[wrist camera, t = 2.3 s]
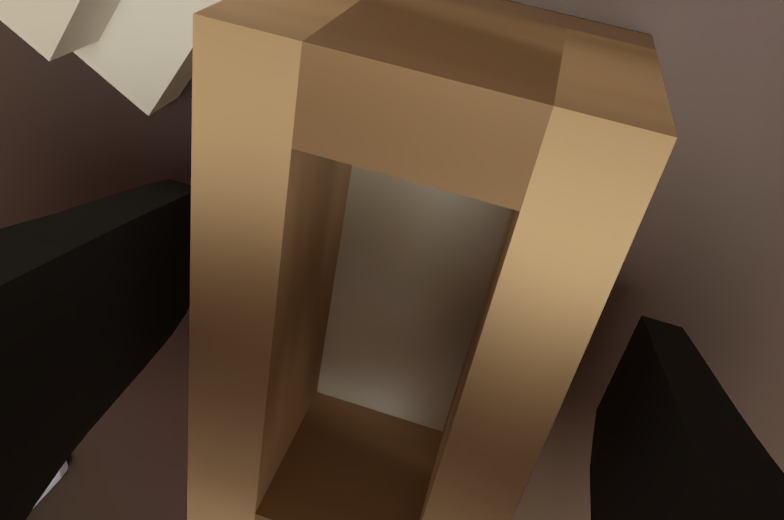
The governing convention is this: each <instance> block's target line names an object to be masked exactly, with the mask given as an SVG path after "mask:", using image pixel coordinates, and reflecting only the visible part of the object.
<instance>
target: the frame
mask: <svg viewBox="0 0 784 520" xmlns="http://www.w3.org/2000/svg"><path fill="white" fill-rule="evenodd" d="M676 140H677V134H676V130H675V126H674V122H673V118H672V114H671V110H670V106H669V102H668V97H667V93H666V89H665V85H664V81H663V77H662V73H661V69H660V65H659V61H658V57H657V53H656V49H655V45H654V41H653V37H652V35H649V34H644V33H640V32H636V31H632V30H628V29H624V28H619V27H615V26H611V25H607V24H603V23H599V22H594V21H590V20H586V19H582V18H578V17H574V16H569V15H565V14H561V13H557V12H553V11H549V10H545V9H540V8H536V7H532V6H528V5H524V4H520V3H515V2H511V1H507V0H222V1H220V2H217V3H215V4H213V5H211V6H209V7H206V8H204V9H202V10H200V11H197V12H195V13H193V58H192V143H191V229H190V314H189V400H188V485H187V520H512V518H513V515H514V513H515V511H516V508H517V506H518V504H519V502H520V499H521V497H522V495H523V492H524V490H525V488H526V485H527V483H528V481H529V478H530V476H531V474H532V472H533V469H534V467H535V465H536V462H537V460H538V458H539V455H540V453H541V451H542V449H543V446H544V444H545V442H546V439H547V437H548V435H549V432H550V430H551V428H552V426H553V423H554V421H555V419H556V416H557V414H558V412H559V409H560V407H561V405H562V402H563V400H564V398H565V396H566V393H567V391H568V389H569V386H570V384H571V382H572V379H573V377H574V375H575V373H576V370H577V368H578V366H579V363H580V361H581V359H582V356H583V354H584V352H585V349H586V347H587V345H588V343H589V340H590V338H591V336H592V333H593V331H594V329H595V326H596V324H597V322H598V320H599V317H600V315H601V313H602V310H603V308H604V306H605V303H606V301H607V299H608V296H609V294H610V292H611V290H612V287H613V285H614V283H615V280H616V278H617V276H618V273H619V271H620V269H621V267H622V264H623V262H624V260H625V257H626V255H627V253H628V250H629V248H630V246H631V244H632V241H633V239H634V237H635V234H636V232H637V230H638V227H639V225H640V223H641V220H642V218H643V216H644V214H645V211H646V209H647V207H648V204H649V202H650V200H651V197H652V195H653V193H654V191H655V188H656V186H657V184H658V181H659V179H660V177H661V174H662V172H663V170H664V167H665V165H666V163H667V161H668V158H669V156H670V154H671V151H672V149H673V147H674V144H675V142H676Z"/></svg>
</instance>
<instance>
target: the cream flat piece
mask: <svg viewBox="0 0 784 520" xmlns="http://www.w3.org/2000/svg"><path fill="white" fill-rule="evenodd" d="M220 1H222V0H0V20H1V21H2V22H3V23H4V24H6V25H7V26H8V27H9V28H10V29H11V30H13V31H14V32H15V33H16V34H17V35H19V36H20V37H21V38H22V39H23V40H24V41H26V42H27V43H28V44H29V45H30V46H32V47H33V48H34V49H35V50H36V51H38V52H39V53H40V54H41V55H42V56H43V57H45V58H46V59H47V60H48V61H52V60H54V59H56V58H59V57H61V56H64V55H66V54H68V53H71V52H74V53H75V54H76V55H77V56H78V57H80V58H81V59H82V60H83V61H84V62H85V63H87V64H88V65H89V66H90V67H91V68H93V69H94V70H95V71H96V72H97V73H98V74H100V75H101V76H102V77H103V78H104V79H105V80H107V81H108V82H109V83H110V84H111V85H112V86H114V87H115V88H116V89H117V90H118V91H120V92H121V93H122V94H123V95H124V96H125V97H127V98H128V99H129V100H130V101H131V102H132V103H134V104H135V105H136V106H137V107H138V108H139V109H141V110H142V111H143V112H144V113H145V114H147V115H148V116H149V115H151V114H153V113H154V112H156V111H157V110H159V109H161V108H162V107H164V106H165V105H167V104H168V103H170V102H172V101H173V100H175V99H176V98H178V97H179V96H180V94H181V93H182V91H183V90H184V88H185V87H186V85H187V84H188V82H189V81H190V79H191V78H192V58H193V13H195V12H197V11H200V10H202V9H204V8H206V7H209V6H211V5H213V4H215V3H217V2H220Z"/></svg>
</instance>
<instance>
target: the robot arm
mask: <svg viewBox="0 0 784 520" xmlns="http://www.w3.org/2000/svg"><path fill="white" fill-rule="evenodd" d="M190 229H191V185H187V184H184V183H180V182H177V181H174V180H170V179H168V180H163V181H159V182H155V183H151V184H147V185H144V186H140V187H137V188H134V189H131V190H127V191H124V192H121V193H118V194H115V195H112V196H109V197H106V198H102V199H99V200H96V201H93V202H90V203H87V204H84V205H81V206H77V207H74V208H71V209H68V210H65V211H62V212H59V213H55V214H52V215H49V216H45V217H42V218H38V219H35V220H31V221H27V222H24V223H20V224H17V225H13V226H10V227H6V228H2V229H0V520H26V518H27V517H28V515H29V514H30V512H31V511H32V509H33V508H34V507H35V506H36V505H37V504H38V503H39V502H40V501H41V499H42V498H43V497H44V496H45V495H46V494H47V493H48V492H49V491H50V490H51V489H52V488H53V486H54V485H55V484H56V483H57V482H58V481H59V480H60V479H61V478H62V476H63V475H64V474H65V473H66V472H67V469H68V464H67V461H66V460H67V459H68V457H69V456H70V454H71V453H72V452H73V451H74V449H75V448H76V447H77V445H78V444H79V443H80V442H81V440H82V439H83V438H84V437H85V435H86V434H87V433H88V432H89V430H90V429H91V428H92V427H93V426H94V425H95V424H96V422H97V421H98V420H99V419H100V418H101V417H102V415H103V414H104V413H105V412H106V411H107V410H108V409H109V407H110V406H111V405H112V404H113V403H114V402H115V400H116V399H117V398H118V397H119V396H120V395H121V394H122V392H123V391H124V390H125V389H126V388H127V387H128V386H129V384H130V383H131V382H132V381H133V380H134V379H135V377H136V376H137V375H138V374H139V373H140V372H141V371H142V369H143V368H144V367H145V366H146V365H147V364H148V362H149V361H150V360H151V359H152V358H153V356H154V355H155V354H156V353H157V352H158V351H159V349H160V348H161V347H162V346H163V345H164V343H165V342H166V341H167V340H168V339H169V337H170V336H171V335H172V334H173V332H174V331H175V329H176V328H177V326H178V325H179V323H180V321H181V320H182V318H183V317H184V315H185V314H186V312H187V311H188V309H189V307H190ZM590 498H591V520H784V473H783V472H782V470H781V469H780V468H779V466H778V465H777V464H776V463H775V461H774V460H773V459H772V458H771V456H770V455H769V454H768V452H767V451H766V449H765V448H764V447H763V445H762V444H761V443H760V441H759V440H758V439H757V437H756V436H755V434H754V433H753V432H752V430H751V429H750V427H749V426H748V425H747V423H746V422H745V420H744V419H743V417H742V416H741V415H740V413H739V412H738V410H737V409H736V407H735V406H734V404H733V403H732V401H731V400H730V398H729V397H728V395H727V394H726V392H725V391H724V389H723V388H722V386H721V385H720V383H719V382H718V380H717V379H716V377H715V376H714V374H713V373H712V371H711V370H710V368H709V367H708V365H707V364H706V362H705V360H704V359H703V357H702V356H701V354H700V353H699V351H698V350H697V348H696V347H695V345H694V344H693V342H692V341H691V339H690V338H689V336H688V335H687V333H686V332H685V331H684V329H683V328H682V327H679V326H675V325H672V324H668V323H665V322H661V321H658V320H655V319H651V318H648V317H644V316H641V318H640V320H639V322H638V324H637V327H636V329H635V331H634V333H633V335H632V337H631V339H630V341H629V343H628V345H627V347H626V350H625V352H624V354H623V356H622V358H621V360H620V362H619V364H618V366H617V368H616V371H615V373H614V375H613V377H612V379H611V381H610V383H609V385H608V387H607V389H606V391H605V394H604V396H603V398H602V400H601V402H600V404H599V406H598V408H597V410H596V419H595V427H594V435H593V443H592V453H591V463H590Z"/></svg>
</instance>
